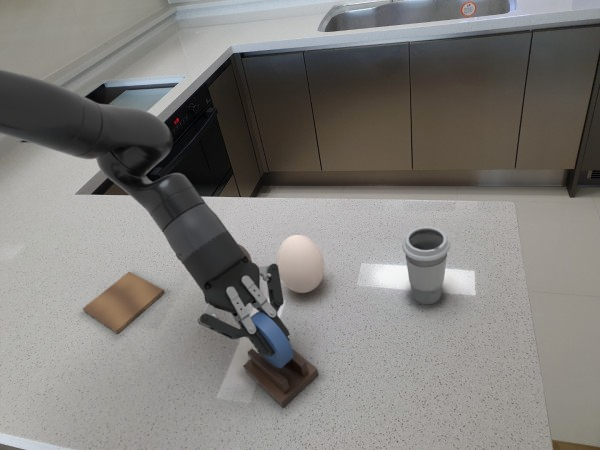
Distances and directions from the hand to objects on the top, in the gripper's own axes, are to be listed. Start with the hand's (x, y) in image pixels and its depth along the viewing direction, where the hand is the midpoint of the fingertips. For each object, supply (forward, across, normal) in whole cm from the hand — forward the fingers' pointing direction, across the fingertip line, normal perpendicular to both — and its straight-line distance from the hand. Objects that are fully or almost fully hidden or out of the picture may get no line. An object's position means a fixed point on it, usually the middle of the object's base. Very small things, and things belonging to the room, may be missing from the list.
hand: (278, 348), depth 62 cm
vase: (-11, +8, +23) cm, 27 cm away
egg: (-3, +14, +14) cm, 20 cm away
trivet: (-20, -10, +32) cm, 39 cm away
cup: (+9, +26, +2) cm, 28 cm away
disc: (-2, 0, +1) cm, 2 cm away
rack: (+4, 0, +7) cm, 8 cm away
